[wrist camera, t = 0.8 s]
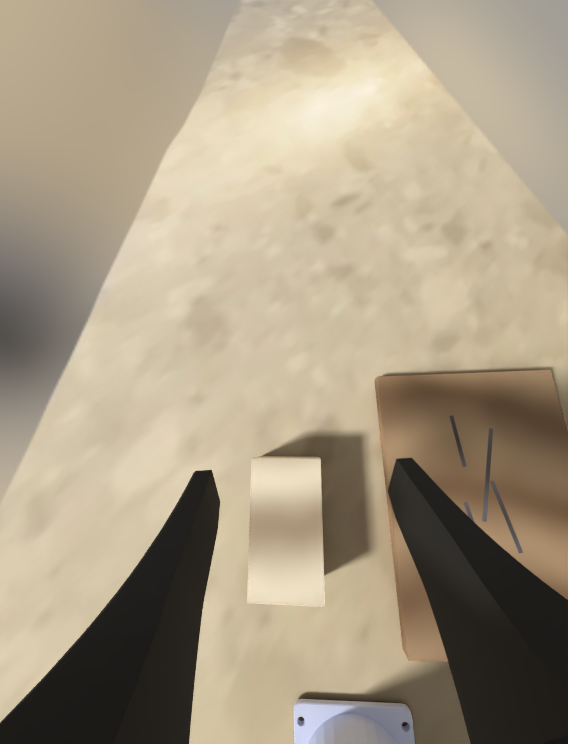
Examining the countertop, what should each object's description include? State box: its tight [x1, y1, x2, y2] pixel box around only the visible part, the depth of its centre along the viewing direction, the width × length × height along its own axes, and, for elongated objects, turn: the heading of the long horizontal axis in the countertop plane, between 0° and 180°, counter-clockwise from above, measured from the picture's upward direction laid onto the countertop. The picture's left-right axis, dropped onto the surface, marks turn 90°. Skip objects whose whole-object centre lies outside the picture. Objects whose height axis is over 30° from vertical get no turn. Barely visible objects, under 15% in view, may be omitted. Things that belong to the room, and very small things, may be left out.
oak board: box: [375, 370, 568, 662], centre depth 22 cm, size 20×14×1 cm
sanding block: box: [247, 456, 325, 607], centre depth 21 cm, size 9×5×4 cm, turn 0°
